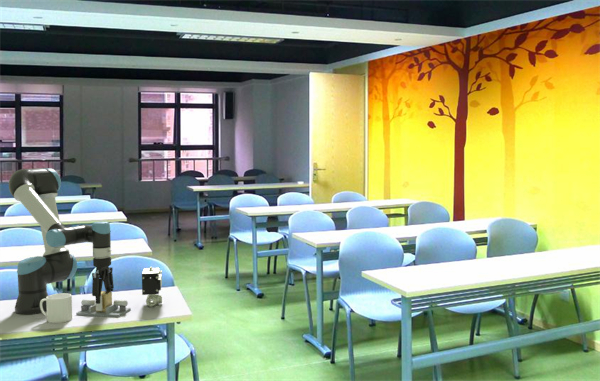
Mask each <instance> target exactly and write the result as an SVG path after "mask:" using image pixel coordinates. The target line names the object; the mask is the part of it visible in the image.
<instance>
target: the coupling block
mask: <svg viewBox="0 0 600 381" xmlns="http://www.w3.org/2000/svg"><path fill="white" fill-rule="evenodd" d="M101 296H102V309H103V310H102V311H96V312H106V308H107V307H109V306H110V305H112V304H113V291H106V290H104V291H103V290H102V291H101Z"/></svg>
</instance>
